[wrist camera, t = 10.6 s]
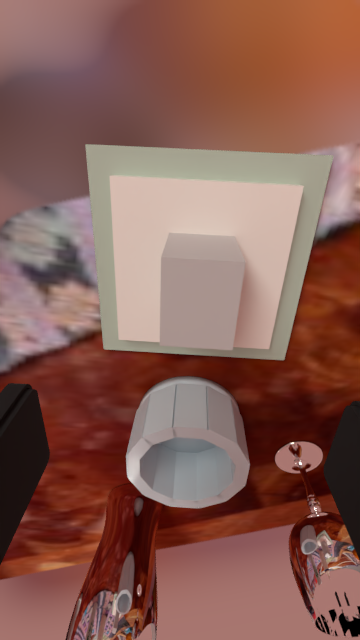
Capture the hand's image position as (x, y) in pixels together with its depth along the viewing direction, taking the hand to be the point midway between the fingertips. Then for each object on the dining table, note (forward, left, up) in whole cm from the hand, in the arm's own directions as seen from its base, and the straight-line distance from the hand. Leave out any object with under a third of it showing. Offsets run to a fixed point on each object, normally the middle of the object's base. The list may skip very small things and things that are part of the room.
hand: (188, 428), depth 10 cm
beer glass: (-27, +5, -14) cm, 30 cm away
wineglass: (-18, -11, -14) cm, 25 cm away
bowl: (-13, 0, -14) cm, 19 cm away
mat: (+1, 0, -14) cm, 14 cm away
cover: (0, 0, -13) cm, 13 cm away
